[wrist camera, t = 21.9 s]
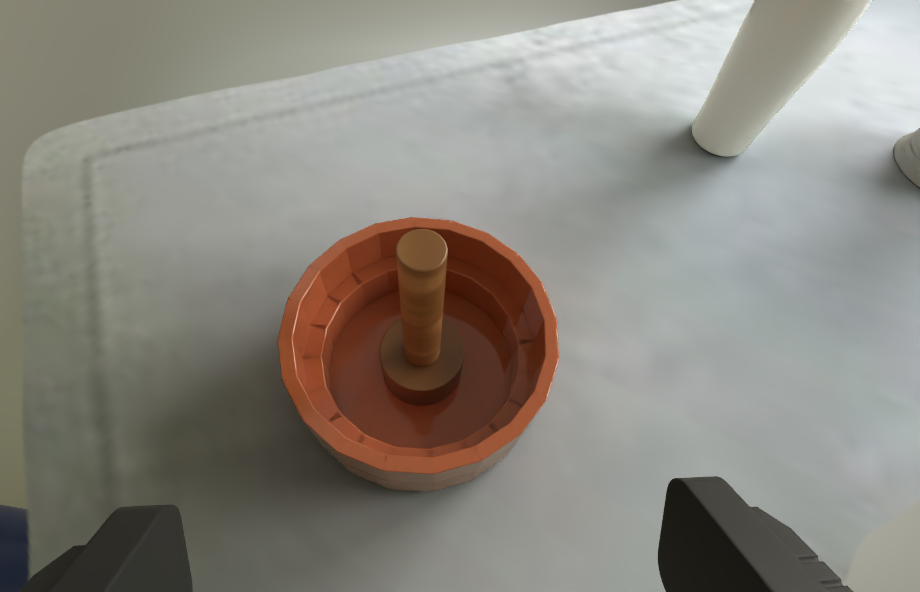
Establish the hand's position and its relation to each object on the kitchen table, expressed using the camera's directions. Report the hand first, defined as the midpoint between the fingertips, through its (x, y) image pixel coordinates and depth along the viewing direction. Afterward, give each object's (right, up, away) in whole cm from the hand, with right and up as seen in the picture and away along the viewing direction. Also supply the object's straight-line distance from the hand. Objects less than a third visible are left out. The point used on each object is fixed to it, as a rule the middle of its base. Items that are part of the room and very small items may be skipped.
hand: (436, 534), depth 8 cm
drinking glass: (+24, +18, +39) cm, 49 cm away
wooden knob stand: (-2, -1, +25) cm, 25 cm away
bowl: (-2, -1, +26) cm, 26 cm away
